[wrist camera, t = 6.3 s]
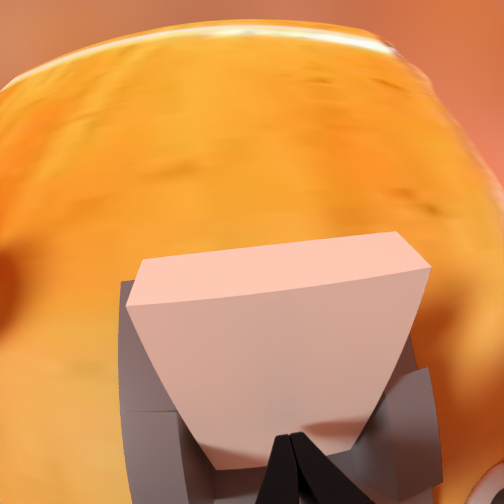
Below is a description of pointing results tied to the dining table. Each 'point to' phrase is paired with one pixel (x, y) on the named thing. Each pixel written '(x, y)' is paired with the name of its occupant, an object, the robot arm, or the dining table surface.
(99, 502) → the dining table surface
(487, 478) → the post
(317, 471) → the robot arm
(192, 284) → the block
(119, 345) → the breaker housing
